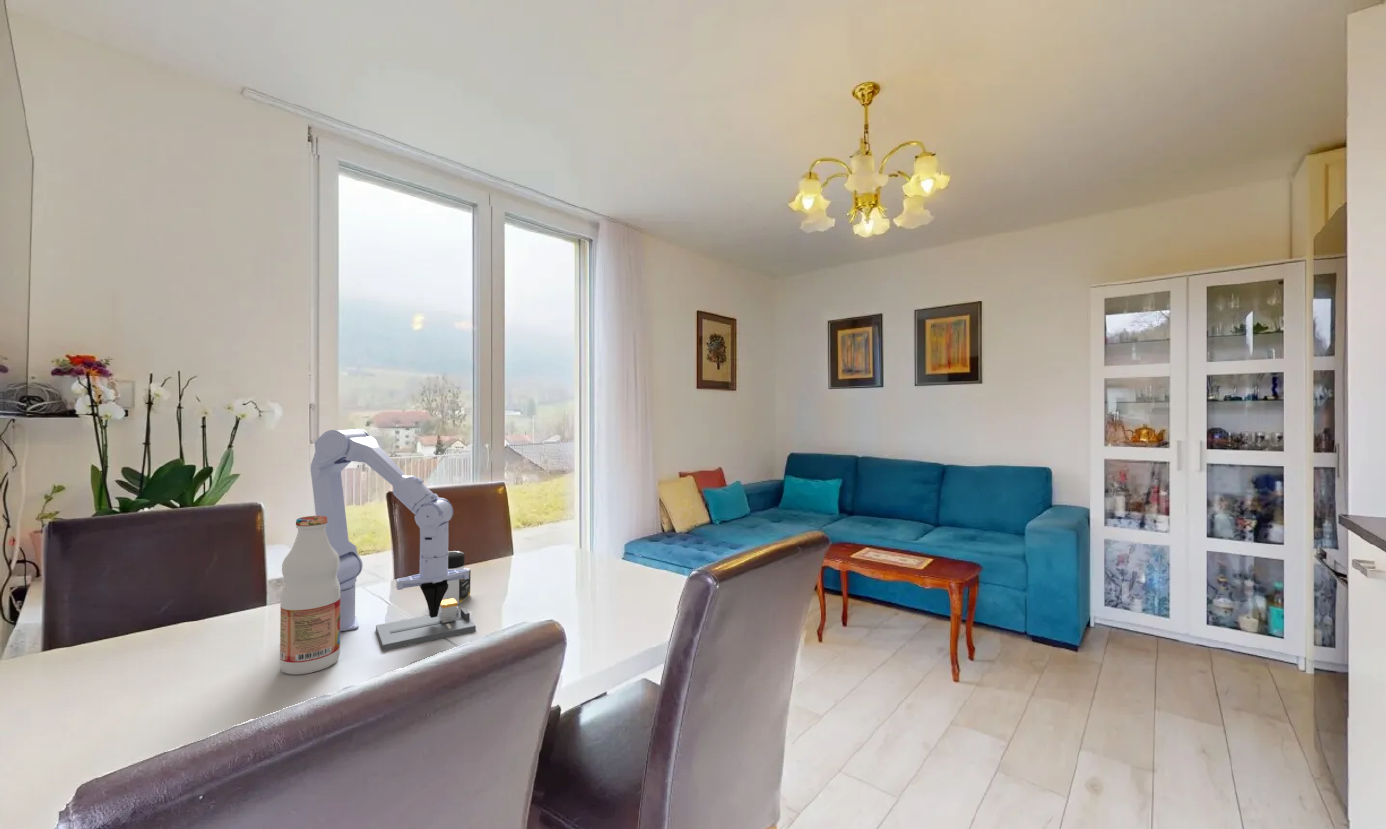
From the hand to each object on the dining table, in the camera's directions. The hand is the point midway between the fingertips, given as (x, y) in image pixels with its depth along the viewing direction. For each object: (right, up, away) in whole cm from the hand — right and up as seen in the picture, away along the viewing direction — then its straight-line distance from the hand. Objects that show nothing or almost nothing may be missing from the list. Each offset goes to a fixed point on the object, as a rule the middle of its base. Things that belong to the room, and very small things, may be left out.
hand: (433, 615), depth 123 cm
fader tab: (+2, -1, +2) cm, 3 cm away
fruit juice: (-15, -3, -17) cm, 23 cm away
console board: (-1, -3, -1) cm, 3 cm away
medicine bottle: (-4, -3, +19) cm, 20 cm away
